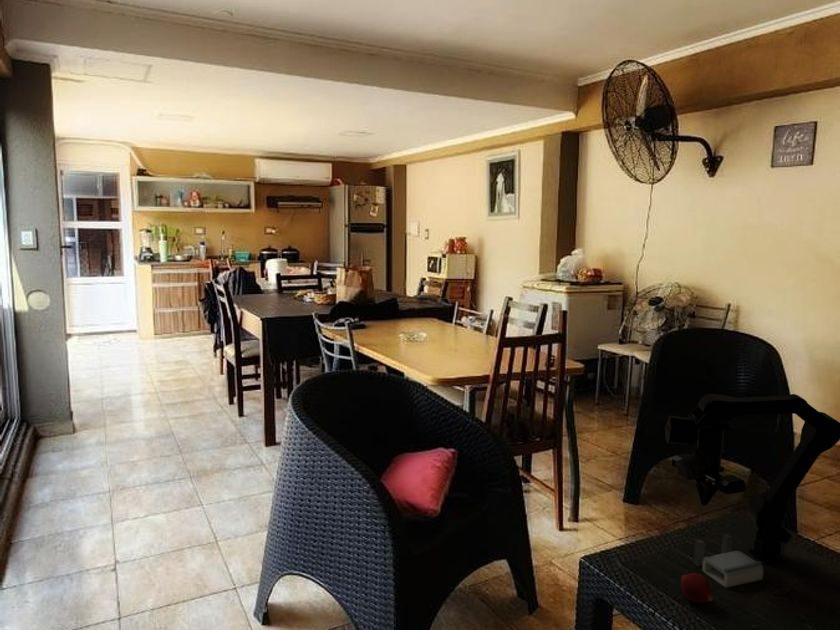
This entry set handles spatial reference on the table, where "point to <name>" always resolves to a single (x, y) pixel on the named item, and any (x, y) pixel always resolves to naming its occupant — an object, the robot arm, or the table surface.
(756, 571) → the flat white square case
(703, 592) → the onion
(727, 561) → the cover
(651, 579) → the table surface
